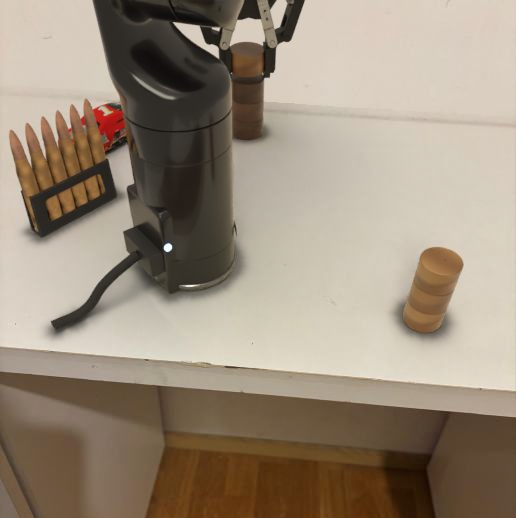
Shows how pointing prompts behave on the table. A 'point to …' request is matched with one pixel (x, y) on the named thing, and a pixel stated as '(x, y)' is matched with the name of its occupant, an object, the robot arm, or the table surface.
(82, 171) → the ammunition clip
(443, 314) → the oak chip base pile
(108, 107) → the race car
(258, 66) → the oak chip
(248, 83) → the walnut chip pile
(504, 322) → the table surface
